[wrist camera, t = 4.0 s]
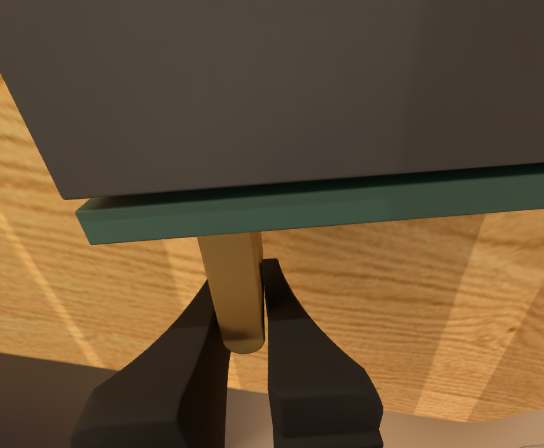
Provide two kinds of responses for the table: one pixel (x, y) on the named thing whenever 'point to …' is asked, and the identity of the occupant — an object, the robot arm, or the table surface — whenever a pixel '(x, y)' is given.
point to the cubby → (272, 89)
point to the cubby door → (295, 222)
